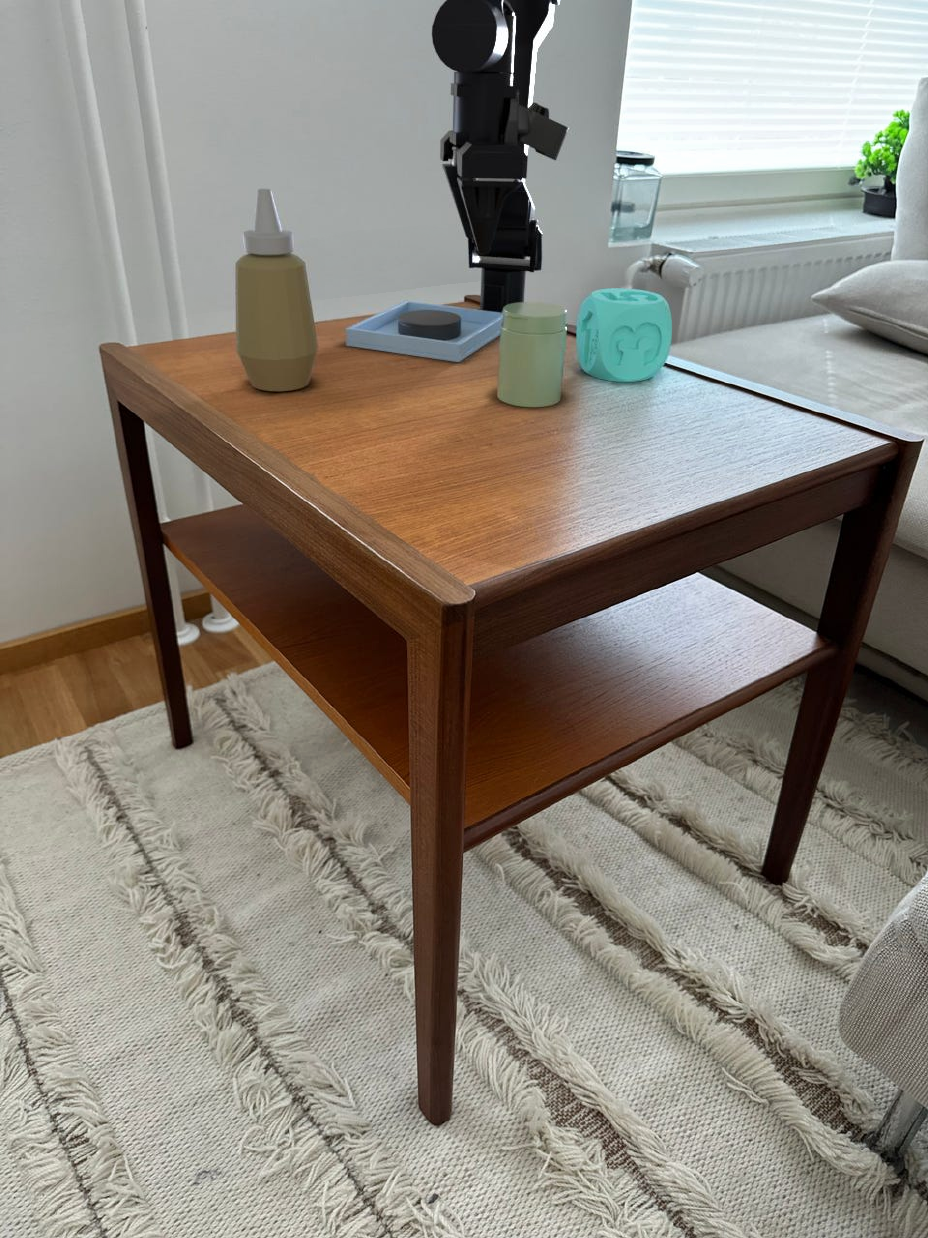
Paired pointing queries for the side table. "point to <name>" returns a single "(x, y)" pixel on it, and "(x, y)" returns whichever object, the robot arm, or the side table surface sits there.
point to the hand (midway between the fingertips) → (477, 245)
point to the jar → (531, 354)
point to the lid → (430, 324)
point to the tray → (385, 337)
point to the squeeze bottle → (273, 305)
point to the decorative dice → (623, 334)
